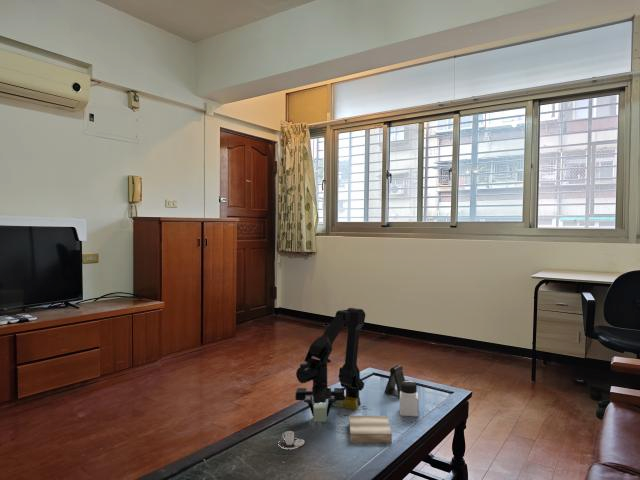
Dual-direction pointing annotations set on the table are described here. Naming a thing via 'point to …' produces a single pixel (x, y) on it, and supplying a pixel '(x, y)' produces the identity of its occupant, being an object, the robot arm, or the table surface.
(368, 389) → the table surface
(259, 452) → the table surface
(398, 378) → the phone stand
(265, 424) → the table surface
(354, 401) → the medication box
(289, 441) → the teacup and saucer
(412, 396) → the medicine bottle
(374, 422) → the base block
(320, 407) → the green cube
